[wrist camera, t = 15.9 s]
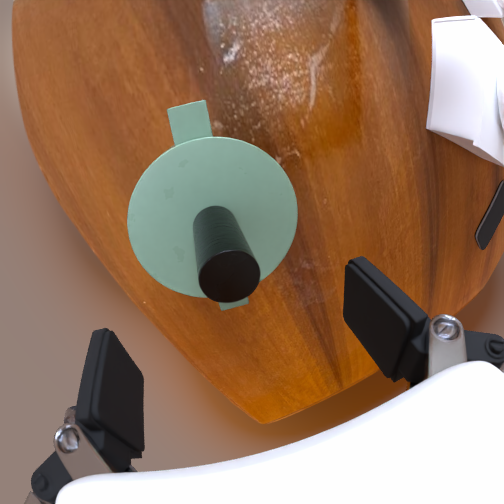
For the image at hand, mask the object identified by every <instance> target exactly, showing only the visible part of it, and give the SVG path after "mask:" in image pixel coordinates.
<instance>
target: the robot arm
mask: <svg viewBox="0 0 504 504" xmlns="http://www.w3.org/2000/svg"><path fill="white" fill-rule="evenodd" d="M343 317H344V320H345V322H346V324H347V325H348V326H349V328H350V329H351V330H352V332H353V333H354V334H355V336H356V337H357V338H358V340H359V341H360V342H361V344H362V345H363V346H364V348H365V349H366V350H367V352H368V353H369V354H370V356H371V357H372V359H373V360H374V361H375V363H376V364H377V365H378V367H379V368H380V370H381V371H382V372H383V374H384V375H385V376H386V377H387V378H391V379H392V380H393V382H396V381H398V380H400V379H401V378H403V377H404V378H405V379H406V380H407V389H406V392H404V393H402V394H401V395H399V396H397V397H395V398H393V399H392V400H390V401H388V402H386V403H384V404H382V405H380V406H379V407H377V408H375V409H373V410H371V411H369V412H367V413H365V414H363V415H361V416H359V417H357V418H355V419H353V420H350V421H348V422H346V423H343V424H341V425H339V426H337V427H334V428H332V429H329V430H327V431H325V432H322V433H319V434H317V435H314V436H312V437H309V438H306V439H304V440H301V441H298V442H295V443H292V444H289V445H286V446H283V447H279V448H276V449H273V450H270V451H266V452H262V453H259V454H255V455H251V456H247V457H243V458H239V459H234V460H229V461H224V462H220V463H214V464H208V465H203V466H196V467H189V468H181V469H172V470H161V471H148V472H137V471H136V470H135V468H134V467H132V465H131V459H132V458H142V451H144V448H145V445H144V417H143V416H144V413H143V394H144V388H143V387H144V378H143V375H142V373H141V371H140V370H139V368H138V367H137V366H136V364H135V363H134V361H133V360H132V359H131V357H130V356H129V354H128V353H127V352H126V350H125V348H124V347H123V345H122V344H121V343H120V341H119V339H118V338H117V336H116V335H115V333H114V332H113V331H110V330H109V329H107V328H104V329H99V330H95V331H94V332H93V333H92V337H91V340H90V345H89V348H88V352H87V356H86V360H85V365H84V369H83V374H82V379H81V384H80V389H79V394H78V400H77V405H76V412H75V424H74V423H66V424H63V425H62V426H60V427H59V428H58V430H57V431H56V433H55V435H54V447H55V450H56V451H55V452H54V453H53V454H52V455H51V456H50V457H49V458H48V459H47V460H46V461H45V462H44V463H43V464H42V465H41V466H40V467H39V468H38V469H37V470H36V471H35V472H34V473H33V475H32V478H31V485H32V489H33V492H31V491H30V492H29V495H28V497H27V499H26V501H25V503H24V504H504V339H503V338H502V337H501V336H499V335H496V334H490V333H481V332H474V331H467V330H464V329H463V326H462V324H461V323H460V321H459V320H458V319H456V318H455V317H453V316H451V315H447V314H440V315H437V316H435V317H434V318H432V320H431V319H430V318H429V317H428V315H427V314H426V313H425V312H424V311H423V310H422V309H421V308H420V307H419V306H418V305H417V304H416V303H415V302H414V301H413V300H411V299H410V298H409V297H408V296H407V295H406V294H405V293H404V292H403V291H402V290H401V289H400V288H399V287H397V286H396V285H395V284H394V283H393V282H392V281H391V280H390V279H389V278H388V277H386V276H385V275H384V274H383V273H382V272H381V271H380V270H379V269H377V268H376V267H375V266H374V265H373V264H372V263H370V262H369V261H368V260H367V259H366V258H365V257H363V256H360V257H357V258H354V259H351V260H349V262H348V265H346V266H345V285H344V306H343Z"/></svg>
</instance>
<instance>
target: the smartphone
mask: <svg viewBox="0 0 504 504" xmlns="http://www.w3.org/2000/svg"><path fill="white" fill-rule="evenodd" d="M503 215H504V181H502V182H501V183H500V185H499V188H498V190H497V192H496V194H495V196H494V198H493V200H492V202H491V204H490V206H489V208H488V210H487V212H486V214H485V216H484V218H483V220H482V222H481V223H480V225H479V227H478V229H477V231H476V235H475V237H476V240H477V243H478V245H479V248H480V249H481V250H484V249H485V248H486V247H487V245H488V243H489V241H490V240H491V238H492V236H493V234H494V232H495V230H496V228H497V227H498V225H499V223H500V221H501V219H502V217H503Z"/></svg>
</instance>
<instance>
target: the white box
mask: <svg viewBox="0 0 504 504" xmlns="http://www.w3.org/2000/svg"><path fill="white" fill-rule="evenodd" d="M426 129H428V130H430V131H432V132H434V133H436V134H438V135H440V136H442V137H444V138H446V139H448V140H450V141H452V142H454V143H456V144H458V145H460V146H461V147H463V148H465V149H467V150H468V151H470V152H472V153H474V154H475V155H477V156H479V157H480V158H482V159H485V160H488V161H490V162H493V163H495V164H498V165H500V166H503V167H504V45H503V44H502V43H501V42H500V40H499V39H498V38H497V37H496V36H495V34H494V33H493V32H492V31H491V30H490V29H489V28H488V26H487V25H486V24H485V23H484V22H483V21H482V20H481V19H480V18H478V17H477V16H458V17H448V18H439V19H434V20H432V73H431V88H430V99H429V108H428V116H427V124H426Z"/></svg>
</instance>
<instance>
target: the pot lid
mask: <svg viewBox="0 0 504 504" xmlns="http://www.w3.org/2000/svg"><path fill="white" fill-rule="evenodd" d="M297 217H298V214H297V202H296V196H295V193H294V190H293V187H292V184H291V182H290V180H289V178H288V176H287V175H286V173H285V172H284V170H283V169H282V167H281V166H280V165H279V164H278V163H277V162H276V161H275V160H274V159H273V158H272V157H271V156H269V155H268V154H267V153H266V152H264V151H262V150H261V149H259V148H257V147H256V146H254V145H251V144H249V143H246V142H244V141H241V140H237V139H233V138H226V137H204V138H199V139H194V140H190V141H187V142H184V143H181V144H179V145H177V146H175V147H173V148H171V149H170V150H168V151H167V152H165V153H164V154H162V155H161V156H160V157H158V158H157V159H156V160H155V161H154V162H153V163H152V164H151V165H150V166H149V167H148V168H147V170H146V171H145V172H144V173H143V175H142V176H141V178H140V180H139V181H138V183H137V184H136V187H135V189H134V191H133V194H132V196H131V200H130V204H129V208H128V216H127V223H128V234H129V239H130V242H131V245H132V249H133V251H134V253H135V255H136V257H137V259H138V260H139V262H140V263H141V265H142V266H143V268H144V269H145V270H146V271H147V272H148V273H149V274H150V275H151V276H152V277H153V278H154V279H155V280H157V281H158V282H159V283H161V284H162V285H164V286H166V287H168V288H170V289H172V290H174V291H176V292H179V293H182V294H185V295H189V296H194V297H205V298H210V299H211V300H213V301H216V302H220V303H233V302H237V301H240V300H242V299H244V298H246V297H248V296H249V295H250V294H251V293H252V292H253V291H254V290H255V289H256V287H257V286H258V284H259V282H260V281H261V280H263V279H264V278H266V277H267V276H268V275H269V274H270V273H271V272H272V271H273V270H274V269H275V268H276V267H277V266H278V265H279V264H280V262H281V261H282V260H283V258H284V257H285V255H286V254H287V252H288V250H289V248H290V246H291V243H292V241H293V238H294V235H295V231H296V226H297Z"/></svg>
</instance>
